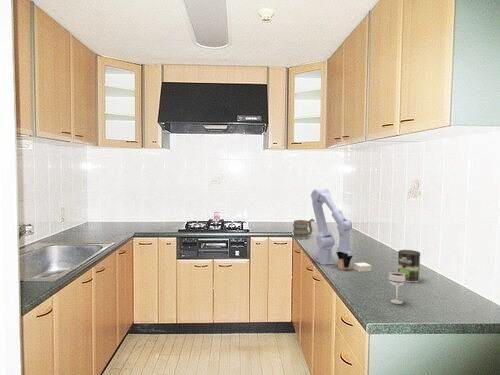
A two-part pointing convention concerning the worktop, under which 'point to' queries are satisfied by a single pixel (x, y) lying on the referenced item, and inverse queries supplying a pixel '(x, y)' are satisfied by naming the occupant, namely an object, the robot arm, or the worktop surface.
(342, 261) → the terracotta cube
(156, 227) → the worktop surface
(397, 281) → the wineglass
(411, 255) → the coffee can
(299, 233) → the tankard
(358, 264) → the cream plinth
